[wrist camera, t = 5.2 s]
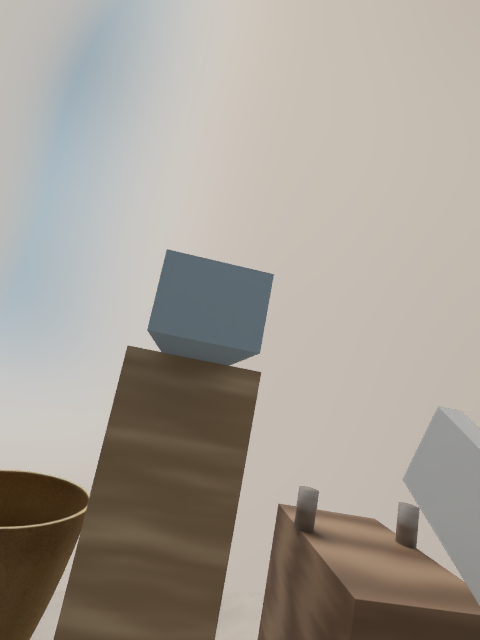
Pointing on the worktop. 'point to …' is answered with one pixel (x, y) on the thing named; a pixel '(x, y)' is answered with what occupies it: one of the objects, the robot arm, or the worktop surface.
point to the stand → (162, 502)
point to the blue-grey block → (209, 309)
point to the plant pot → (34, 544)
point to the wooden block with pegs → (359, 580)
